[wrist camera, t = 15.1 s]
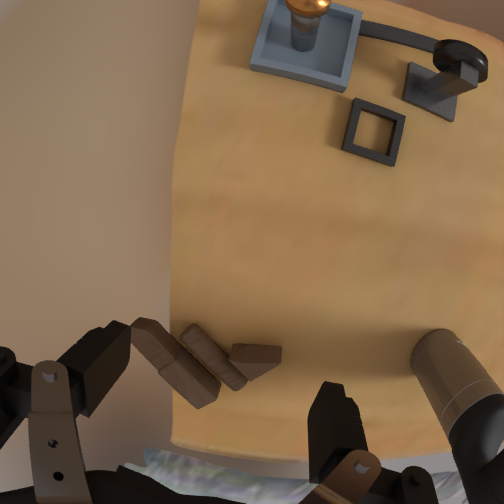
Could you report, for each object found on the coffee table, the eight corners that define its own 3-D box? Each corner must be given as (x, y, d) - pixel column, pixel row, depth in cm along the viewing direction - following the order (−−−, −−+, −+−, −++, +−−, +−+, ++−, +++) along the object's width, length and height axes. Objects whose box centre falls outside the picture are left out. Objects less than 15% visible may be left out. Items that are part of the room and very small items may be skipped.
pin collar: (401, 117, 35) (405, 116, 33) (390, 166, 37) (394, 166, 35) (352, 100, 35) (355, 97, 34) (340, 149, 37) (343, 149, 35)
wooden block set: (199, 418, 44) (117, 338, 42) (207, 396, 50) (133, 322, 47) (285, 372, 40) (194, 273, 38) (286, 350, 45) (205, 260, 43)
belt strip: (446, 44, 30) (447, 43, 30) (447, 58, 31) (449, 57, 30) (357, 21, 32) (358, 19, 31) (357, 34, 32) (358, 33, 32)
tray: (358, 21, 32) (362, 11, 29) (342, 93, 35) (346, 87, 32) (272, 0, 32) (271, -10, 29) (251, 70, 35) (249, 63, 32)
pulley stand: (456, 81, 32) (501, 60, 20) (450, 122, 34) (499, 111, 22) (408, 58, 32) (445, 26, 21) (401, 100, 34) (441, 78, 22)
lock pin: (322, 32, 32) (335, -18, 20) (316, 59, 33) (328, 14, 21) (289, 25, 32) (289, -28, 20) (282, 51, 34) (279, 4, 21)
